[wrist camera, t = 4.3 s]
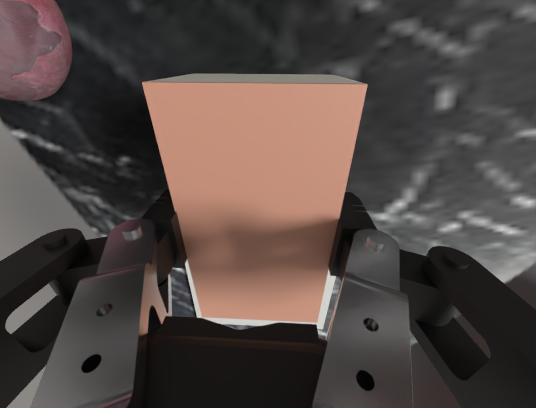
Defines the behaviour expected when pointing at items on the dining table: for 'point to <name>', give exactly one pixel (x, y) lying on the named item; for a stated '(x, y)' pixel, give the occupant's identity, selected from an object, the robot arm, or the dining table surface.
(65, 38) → the vegetable
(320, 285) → the card box
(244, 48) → the dining table surface
